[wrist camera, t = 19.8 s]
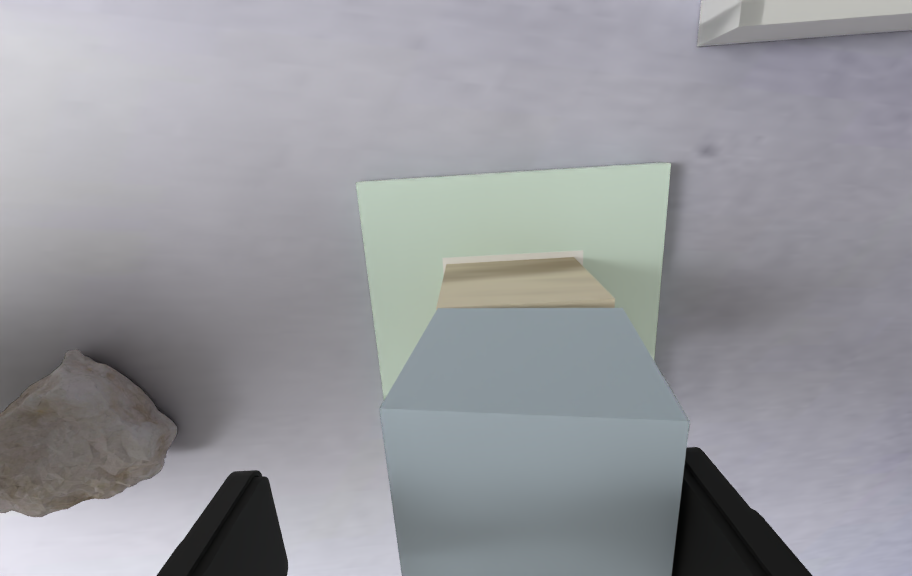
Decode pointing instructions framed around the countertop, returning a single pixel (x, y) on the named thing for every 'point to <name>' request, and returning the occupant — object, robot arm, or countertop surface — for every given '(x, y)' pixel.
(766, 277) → the countertop surface
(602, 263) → the plate
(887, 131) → the countertop surface
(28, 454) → the stone
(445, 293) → the birch block
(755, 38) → the toy pen
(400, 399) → the greyblue block
